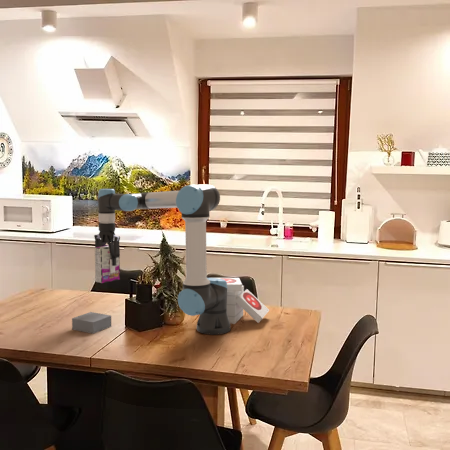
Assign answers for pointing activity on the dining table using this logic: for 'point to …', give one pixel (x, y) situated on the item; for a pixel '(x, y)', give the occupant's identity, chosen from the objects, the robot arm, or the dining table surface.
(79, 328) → the grey block
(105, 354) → the dining table surface
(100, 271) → the candy bar box
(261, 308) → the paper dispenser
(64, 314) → the dining table surface
